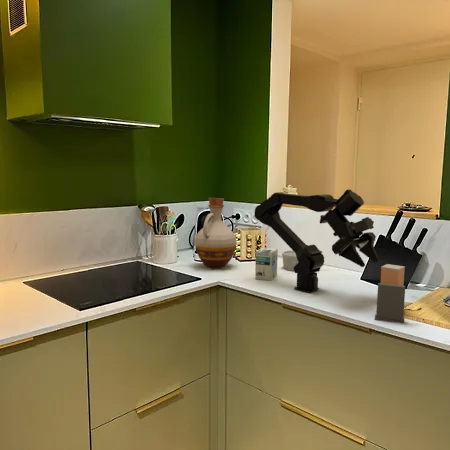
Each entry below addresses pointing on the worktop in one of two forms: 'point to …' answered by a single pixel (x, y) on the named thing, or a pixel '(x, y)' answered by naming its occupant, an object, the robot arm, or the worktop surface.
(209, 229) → the jug
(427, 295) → the worktop surface
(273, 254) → the light bulb box
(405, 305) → the coaster
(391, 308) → the screen
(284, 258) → the ramekin
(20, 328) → the worktop surface
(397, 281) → the tin
